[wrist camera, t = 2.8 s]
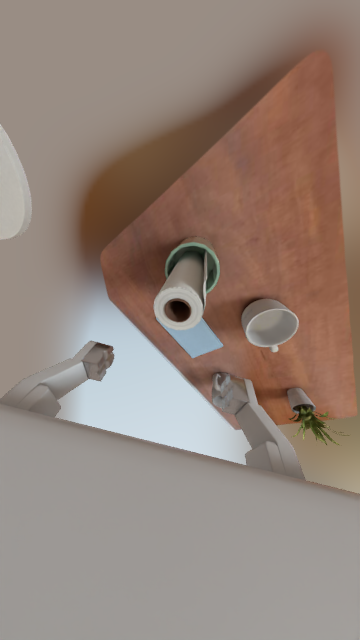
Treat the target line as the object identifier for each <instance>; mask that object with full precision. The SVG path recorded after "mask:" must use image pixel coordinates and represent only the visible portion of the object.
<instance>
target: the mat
mask: <svg viewBox="0 0 360 640" xmlns="http://www.w3.org/2000/svg"><path fill="white" fill-rule="evenodd" d="M156 320H157V321H158V322H159V323H160V324H161V325H162V326H163V327H164V328H165V329H166V330H167V331H168V332H169V334H170V335H171V336H172V337H173V338H174V339H175V340H176V341H177V342H178V343H179V344H180V345H181V346H182V347H183V348H184V350H185V351H186V352H187V353H188V354H189V355H190V356H191V357H192V358H194V357H197V356H199V355H202V354H205V353H207V352H210V351H213V350H215V349H218V348H221V347H223V344H222V343H221V342H220V340H219V339H218V338H217V336H216V335H215V334H214V333H213V331H212V330H211V329H210V327H209V326H208V325H207V323H206V322H205V321H204V319H203V318H201V320H200V322H199V323H198V324H197V325H196V326H194V327H193V328H190V329H187V330H174V329H171V328H168V327H167V326H165V325H164V324H162V323H161V322H160V321H159V320H158V318H156Z"/></svg>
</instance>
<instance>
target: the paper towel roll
mask: <svg viewBox="0 0 360 640" xmlns="http://www.w3.org/2000/svg"><path fill="white" fill-rule="evenodd" d="M206 279H207V250H205V256H204V258H203V256H202V255H201V254H200V253H199V252H196V251H187V252H185V253H184V254H183V255H182V256H181V258H180V259H179V261H178V262H177V264H176V266H175V267H174V269H173V270H172V272H171V274H170V275H169V277H168V279H167V280H166V282H165V283H164V285H163V287H162V288H161V290H160V292H159V293H158V295H157V296H156V298H155V302H154V307H153V308H154V311H155V315H156V317H157V318H158V320H159V321H160V322H161V323H162V324H164V325H165V326H167V327H168V328H171V329H174V330H187V329H190V328H193V327H194V326H196V325H197V324H198V323H199V322H200V320H201V318H202V315H203V312H204V309H205V305H206Z"/></svg>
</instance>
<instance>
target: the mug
mask: <svg viewBox="0 0 360 640" xmlns="http://www.w3.org/2000/svg"><path fill="white" fill-rule="evenodd" d="M227 375H229V374H227V373H218V374H217V373H216V374H214V375H213V387H212V402H213V404H214V405H216V406H218V407H220V408H222V402H221V401H222V400H223V397H222V396H221V385H222V383H223V381H225V380H226V376H227Z"/></svg>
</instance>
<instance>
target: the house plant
mask: <svg viewBox="0 0 360 640" xmlns="http://www.w3.org/2000/svg"><path fill="white" fill-rule="evenodd" d="M287 394H288V398H289V402H290V405H291V409H292V411H293V412H295V413H296V414H297V413H299V416H298V418H297V420H294V421H296V422H298V421H300V420H301V418H302V420H303V424H301V426H302V427H300V429H301V428H304V429H303V439H304V436H305V427H306V429H309V428H311V429H312V431H313V433H314V434H315V436H316V439H317V438H318V439H319V440H320V441H323V442H324V443H325V444H326V445H327V443H326V441H325V439H324V438H323V435H322V434H321V432H320V430H321V431H322V432H323V433H324V435H326V437H327V438H328V439H329V440H331V441H332V442H333V443H335V444H338V443H336V442H335V441H334V440H332V439H331V438H330V437H329V435H328V434H327V433H326V432H325V431H324V430H323V429H322V428H321V427H323V428H325V427H324V425H323V424H325V423H324V422H322V421H320V420H319V419H317V418H316V417H315V416H314V415H315V414H314V413H313V411H314V410H315V409H316V407H315V406H314V404H313V403H312V402H311V400H310V399H309V398H308V397H307V395H306V394H305V393H304V391H303V390H302V389H300V388H291V389H289V390H288V391H287ZM314 412H315V411H314ZM316 413H317V412H316ZM318 414H319V413H318ZM320 415H321V414H320ZM327 415H328V412H326V413H325V414H323V415H321V416H319V417H326V416H327ZM295 416H296V415H295ZM295 416H294V417H295ZM316 416H317V415H316ZM294 417H293V418H294ZM293 418H291V419H293ZM327 418H328V417H327ZM291 419H290V420H291ZM329 419H333V418H329ZM291 421H293V420H291ZM317 427H318V428H319V429H320V430H319V429H318V428H317ZM327 428H329V427H327ZM300 429H299V431H300ZM299 431H298V433H299ZM298 433H297V434H296V435H298ZM318 433H319V434H318ZM296 435H295V436H296ZM295 436H293V437H295ZM338 445H339V444H338Z"/></svg>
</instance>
